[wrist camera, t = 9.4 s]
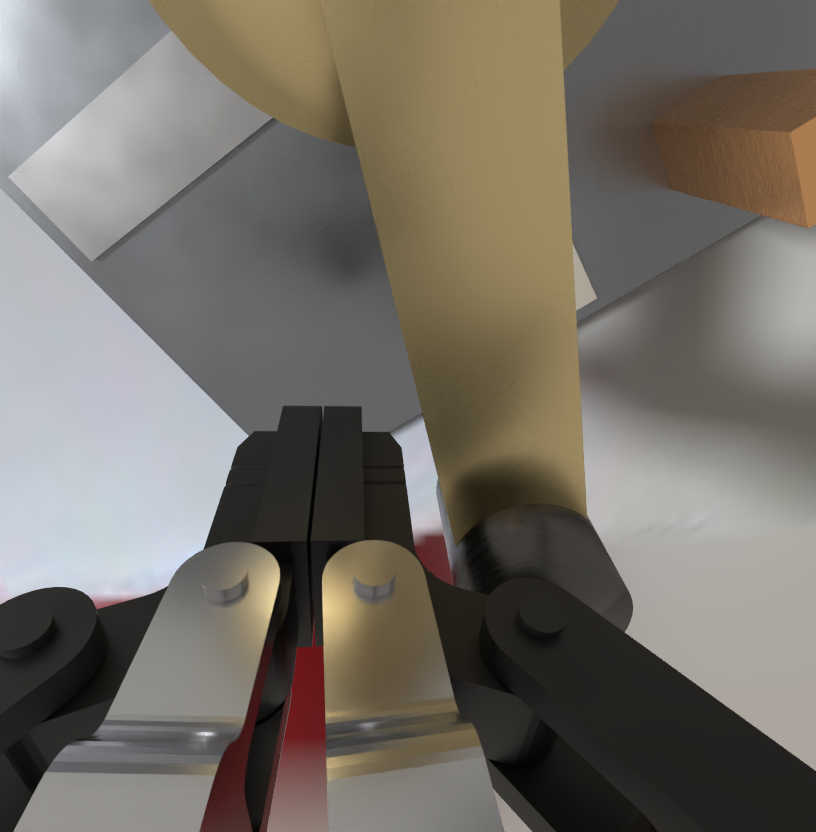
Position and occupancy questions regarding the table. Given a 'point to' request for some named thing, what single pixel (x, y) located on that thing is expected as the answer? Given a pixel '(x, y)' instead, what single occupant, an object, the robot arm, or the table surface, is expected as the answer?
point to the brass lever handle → (455, 240)
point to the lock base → (347, 195)
